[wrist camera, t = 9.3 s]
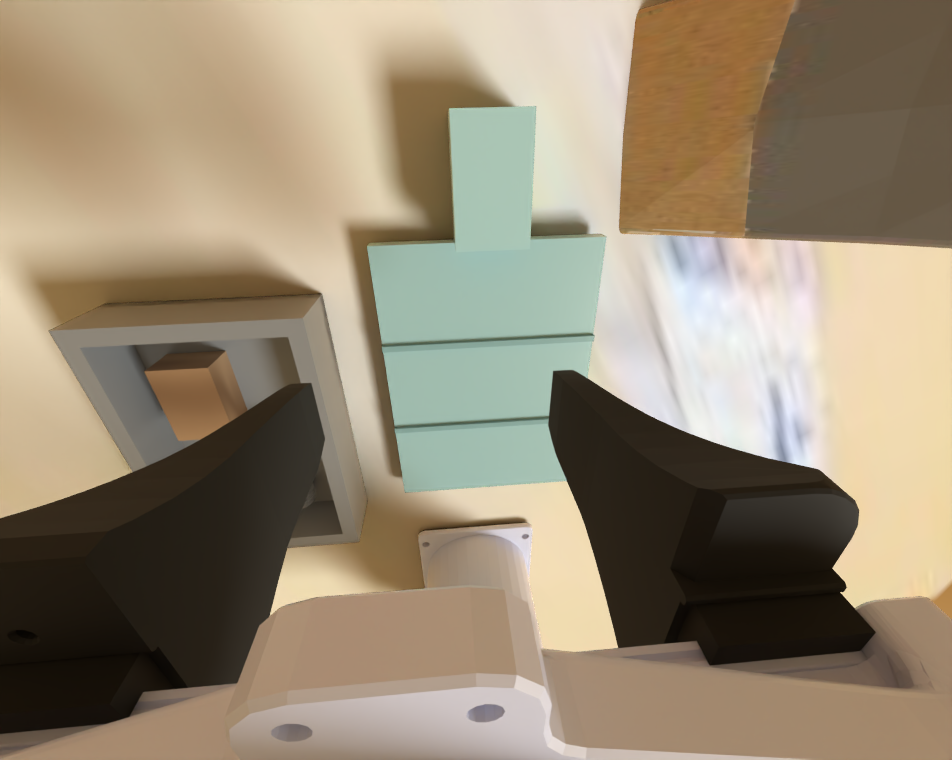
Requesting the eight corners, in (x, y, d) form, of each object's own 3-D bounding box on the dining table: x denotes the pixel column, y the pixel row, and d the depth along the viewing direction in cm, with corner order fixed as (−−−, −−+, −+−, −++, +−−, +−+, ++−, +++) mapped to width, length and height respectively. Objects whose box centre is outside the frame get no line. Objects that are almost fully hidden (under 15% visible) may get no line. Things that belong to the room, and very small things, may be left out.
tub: (367, 500, 27) (359, 542, 24) (210, 512, 26) (182, 556, 23) (322, 293, 20) (302, 318, 17) (104, 303, 19) (48, 330, 16)
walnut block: (250, 416, 22) (235, 437, 21) (197, 420, 22) (178, 440, 20) (225, 350, 20) (207, 367, 19) (167, 353, 20) (144, 371, 18)
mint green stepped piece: (568, 467, 27) (582, 502, 24) (406, 478, 26) (402, 515, 24) (612, 109, 17) (643, 104, 14) (352, 115, 16) (335, 110, 14)
